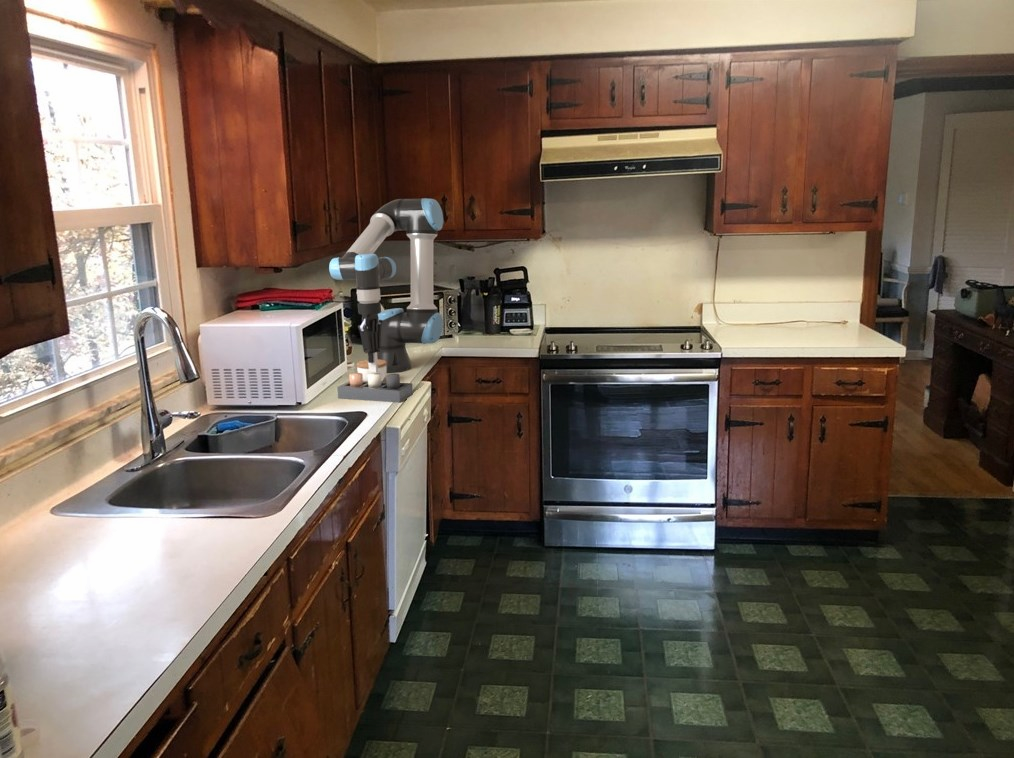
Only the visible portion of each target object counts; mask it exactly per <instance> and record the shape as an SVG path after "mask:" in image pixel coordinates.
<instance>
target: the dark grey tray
mask: <svg viewBox="0 0 1014 758" xmlns="http://www.w3.org/2000/svg"><path fill="white" fill-rule="evenodd" d="M381 385H382V386H381V387H379V388H374V387H368V381H363V385H362V386H360V387H358V386H350V380H349V381H347V382H344V383H343V384H340V385H338V386H336V387H337V398H338V399H342V400H359V401H369V402H370V401H374V402H375V401H376V402H384V403H385V402H388V403H401V402H403V401H405V400H407V399H408V398H410V397H412V396H413V394H414V392H413V391H414V390H413V383H408V382H400V388H399V389H390V388H387V381H382V382H381Z"/></svg>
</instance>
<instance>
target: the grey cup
mask: <svg viewBox="0 0 1014 758" xmlns="http://www.w3.org/2000/svg"><path fill="white" fill-rule="evenodd" d="M385 379H386V382H387V388H390V389H399V388H400V383H401V376H400V374H399V373H387V374H386V376H385Z"/></svg>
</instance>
